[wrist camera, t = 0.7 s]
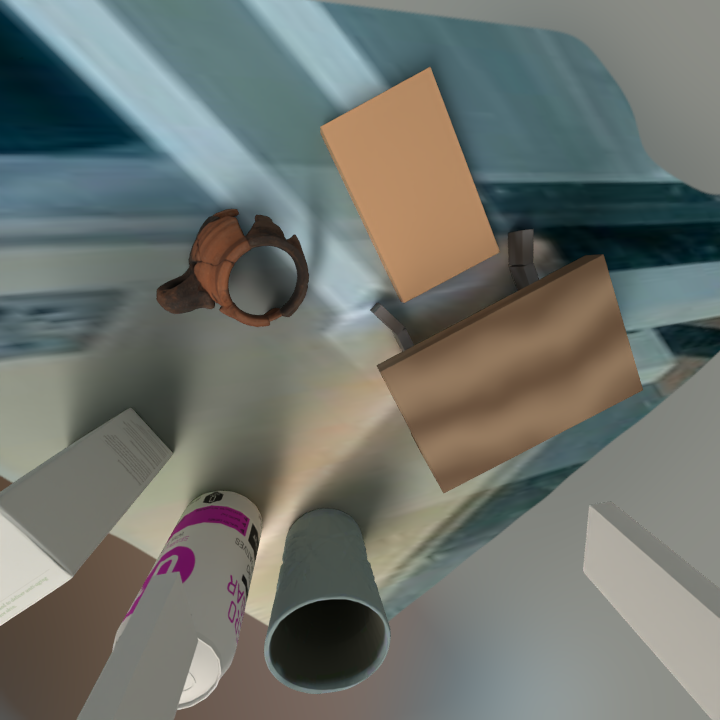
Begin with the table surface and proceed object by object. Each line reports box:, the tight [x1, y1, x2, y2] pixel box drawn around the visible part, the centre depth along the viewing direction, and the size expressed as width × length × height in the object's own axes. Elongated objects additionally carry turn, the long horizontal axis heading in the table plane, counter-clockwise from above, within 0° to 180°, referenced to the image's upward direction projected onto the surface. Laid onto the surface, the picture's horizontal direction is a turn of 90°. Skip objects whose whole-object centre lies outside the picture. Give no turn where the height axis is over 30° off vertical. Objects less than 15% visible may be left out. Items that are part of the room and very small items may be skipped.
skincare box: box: [0, 408, 173, 625], centre depth 28 cm, size 8×7×16 cm
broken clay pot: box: [157, 209, 309, 327], centre depth 30 cm, size 12×10×8 cm
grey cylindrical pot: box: [264, 509, 391, 694], centre depth 35 cm, size 10×10×12 cm
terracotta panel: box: [320, 67, 500, 303], centre depth 32 cm, size 16×10×2 cm, turn 27°
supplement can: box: [113, 491, 263, 710], centre depth 31 cm, size 8×8×15 cm
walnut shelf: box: [370, 229, 643, 493], centre depth 33 cm, size 17×20×7 cm
